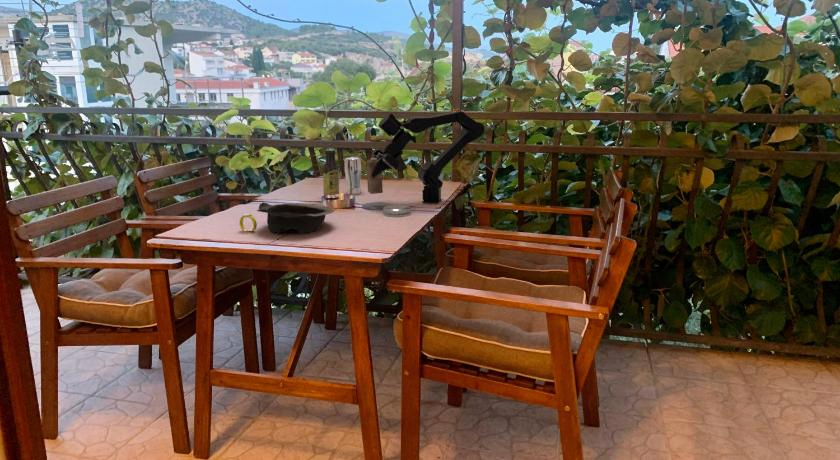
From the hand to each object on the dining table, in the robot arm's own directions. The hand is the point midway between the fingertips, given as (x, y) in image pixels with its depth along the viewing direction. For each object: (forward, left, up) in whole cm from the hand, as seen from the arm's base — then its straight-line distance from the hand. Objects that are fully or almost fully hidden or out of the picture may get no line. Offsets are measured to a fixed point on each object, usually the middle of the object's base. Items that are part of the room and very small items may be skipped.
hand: (370, 175), depth 227 cm
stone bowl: (+12, +35, -13) cm, 39 cm away
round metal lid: (-13, +7, -13) cm, 19 cm away
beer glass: (+17, -22, -12) cm, 30 cm away
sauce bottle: (+22, -11, -12) cm, 28 cm away
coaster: (-1, -1, -12) cm, 12 cm away
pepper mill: (-1, -1, -7) cm, 7 cm away
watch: (+26, +43, -12) cm, 52 cm away
